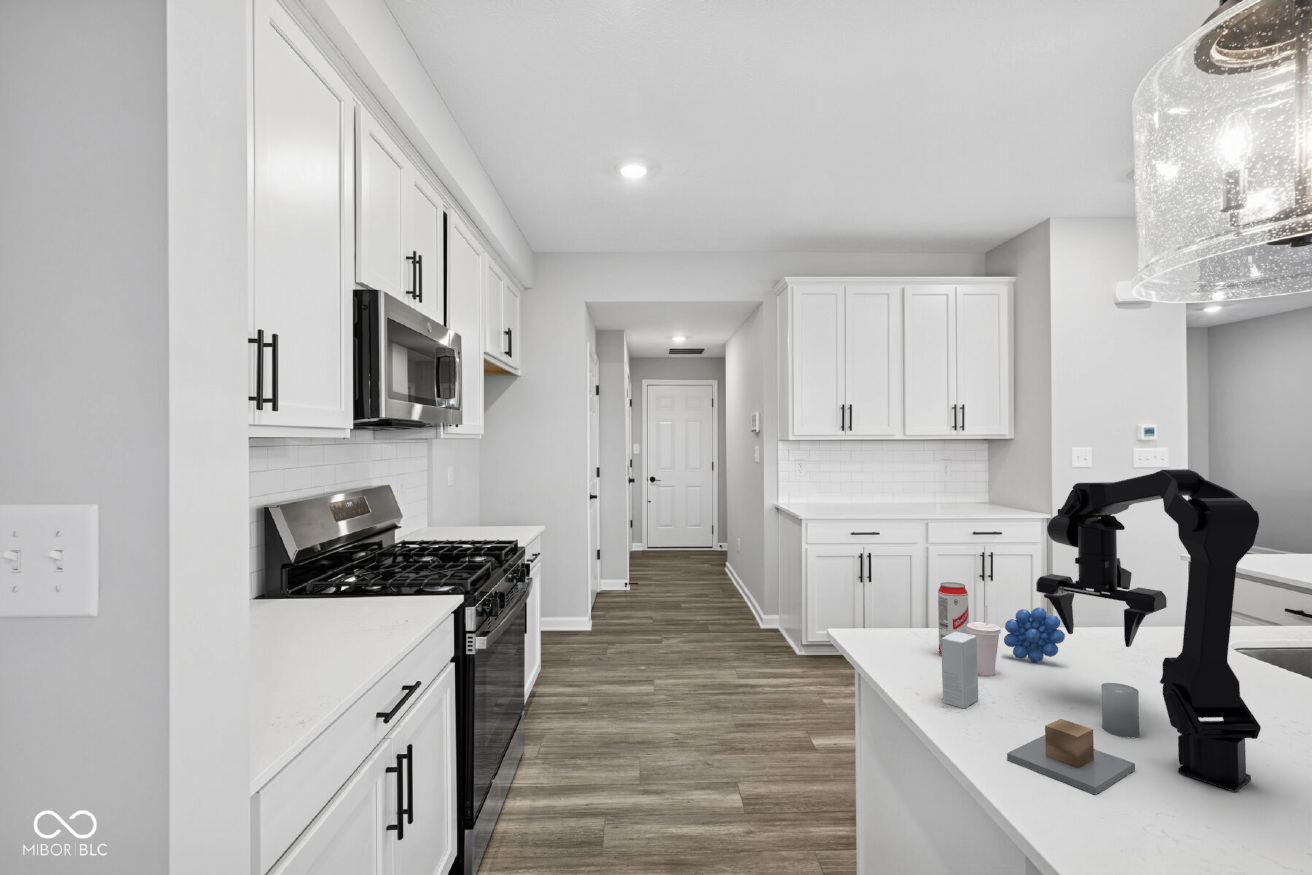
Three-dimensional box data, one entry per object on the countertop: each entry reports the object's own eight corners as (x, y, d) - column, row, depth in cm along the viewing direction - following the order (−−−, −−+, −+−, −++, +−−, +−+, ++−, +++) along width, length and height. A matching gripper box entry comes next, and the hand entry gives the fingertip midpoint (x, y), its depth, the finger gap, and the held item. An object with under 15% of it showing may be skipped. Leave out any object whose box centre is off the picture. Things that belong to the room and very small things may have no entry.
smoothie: (1006, 679, 131) (1004, 609, 132) (971, 677, 133) (970, 608, 133) (996, 668, 138) (994, 602, 138) (963, 666, 139) (962, 601, 139)
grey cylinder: (1145, 732, 107) (1144, 689, 107) (1131, 740, 104) (1130, 696, 104) (1110, 722, 111) (1109, 680, 111) (1096, 729, 108) (1095, 686, 108)
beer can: (932, 653, 148) (931, 583, 148) (952, 650, 151) (951, 580, 151) (955, 662, 142) (954, 588, 142) (975, 657, 145) (974, 585, 145)
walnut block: (1093, 759, 96) (1093, 729, 96) (1078, 768, 93) (1077, 736, 93) (1061, 748, 99) (1060, 718, 99) (1045, 755, 97) (1045, 725, 97)
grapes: (1068, 662, 141) (1067, 606, 141) (1064, 670, 136) (1062, 612, 136) (1008, 652, 149) (1007, 599, 149) (1001, 659, 143) (1000, 605, 143)
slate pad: (1134, 769, 94) (1134, 762, 94) (1095, 794, 88) (1095, 787, 88) (1048, 739, 105) (1048, 733, 105) (1007, 759, 98) (1007, 752, 98)
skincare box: (955, 693, 124) (954, 630, 124) (979, 700, 121) (977, 635, 121) (941, 702, 120) (940, 637, 120) (965, 709, 117) (963, 642, 117)
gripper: (1178, 554, 113) (1180, 644, 113) (1063, 541, 129) (1064, 620, 129) (1152, 562, 107) (1153, 657, 107) (1034, 547, 123) (1035, 630, 122)
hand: (1098, 639), depth 116 cm, fingers open, 9 cm apart
